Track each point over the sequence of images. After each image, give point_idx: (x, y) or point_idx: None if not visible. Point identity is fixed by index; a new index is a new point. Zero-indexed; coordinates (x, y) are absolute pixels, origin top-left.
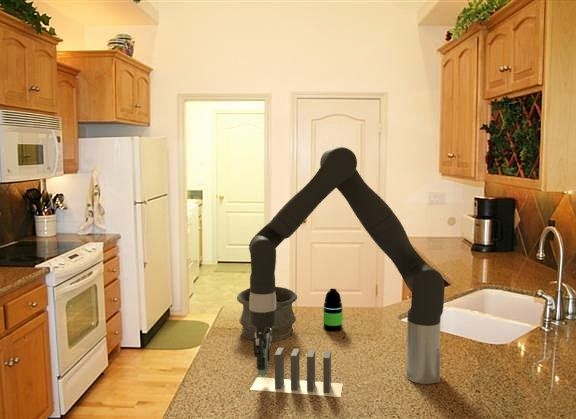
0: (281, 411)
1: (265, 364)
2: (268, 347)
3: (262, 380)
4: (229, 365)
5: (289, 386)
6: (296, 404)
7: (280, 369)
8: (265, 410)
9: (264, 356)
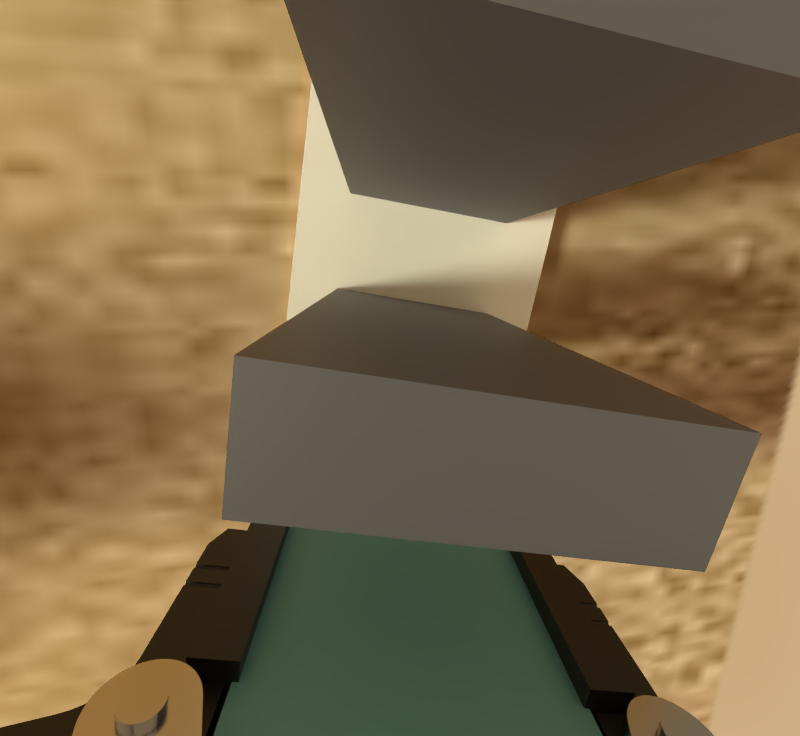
0: (777, 293)
1: (433, 549)
2: (198, 723)
3: None
4: (59, 702)
5: (435, 237)
6: (701, 177)
7: (558, 346)
8: (740, 401)
9: (698, 728)
